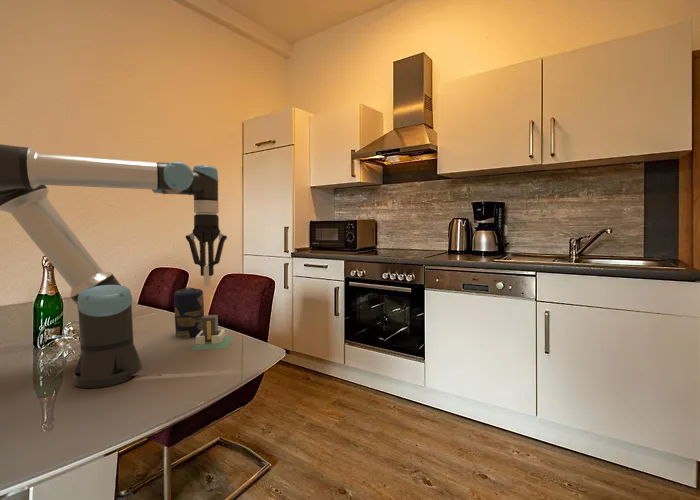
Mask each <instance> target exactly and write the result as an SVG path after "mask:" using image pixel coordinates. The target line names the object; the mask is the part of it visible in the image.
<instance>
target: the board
mask: <svg viewBox="0 0 700 500" xmlns="http://www.w3.org/2000/svg"><path fill="white" fill-rule="evenodd" d="M234 338H235V335H225V337H224V339H223V340H222V342H221V343H218V344H212V342H208V343H205V344H198V345H196V343H195V345H194V346H192V348H191V349H190V351H199V350H201V351H202V350H203V351H204V350H219V349H228V348H229V346H230V345H231V342H233V340H234Z"/></svg>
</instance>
